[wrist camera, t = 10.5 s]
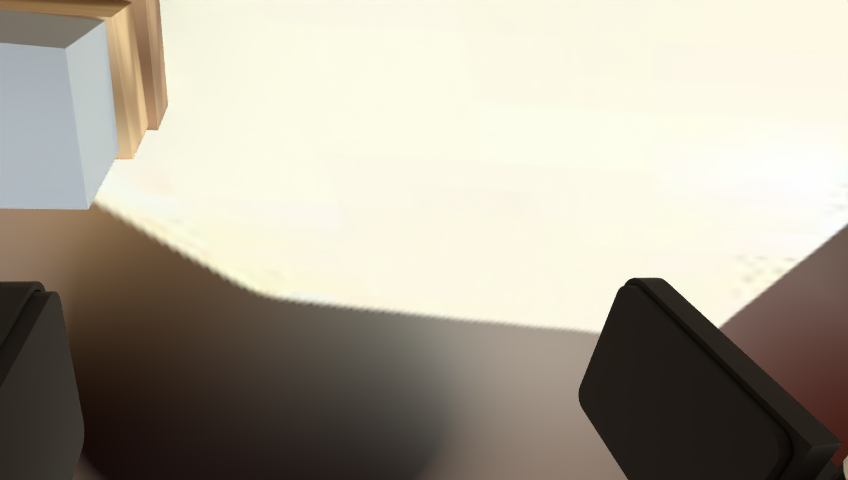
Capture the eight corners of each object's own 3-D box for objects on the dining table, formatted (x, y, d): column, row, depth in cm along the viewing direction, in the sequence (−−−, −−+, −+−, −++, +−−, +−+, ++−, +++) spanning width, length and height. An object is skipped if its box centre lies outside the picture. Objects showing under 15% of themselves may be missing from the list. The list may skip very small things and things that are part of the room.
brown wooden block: (6, -40, 28) (-35, -34, 24) (157, -22, 30) (144, -14, 26) (33, 97, 31) (1, 124, 27) (168, 104, 33) (157, 130, 29)
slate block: (-64, 2, 20) (-164, 27, 15) (105, 20, 22) (65, 48, 17) (-31, 144, 23) (-107, 206, 18) (119, 151, 25) (87, 209, 20)
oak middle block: (-19, -9, 24) (-72, 5, 20) (131, 2, 26) (111, 17, 22) (14, 123, 27) (-27, 159, 23) (148, 125, 29) (132, 159, 25)
